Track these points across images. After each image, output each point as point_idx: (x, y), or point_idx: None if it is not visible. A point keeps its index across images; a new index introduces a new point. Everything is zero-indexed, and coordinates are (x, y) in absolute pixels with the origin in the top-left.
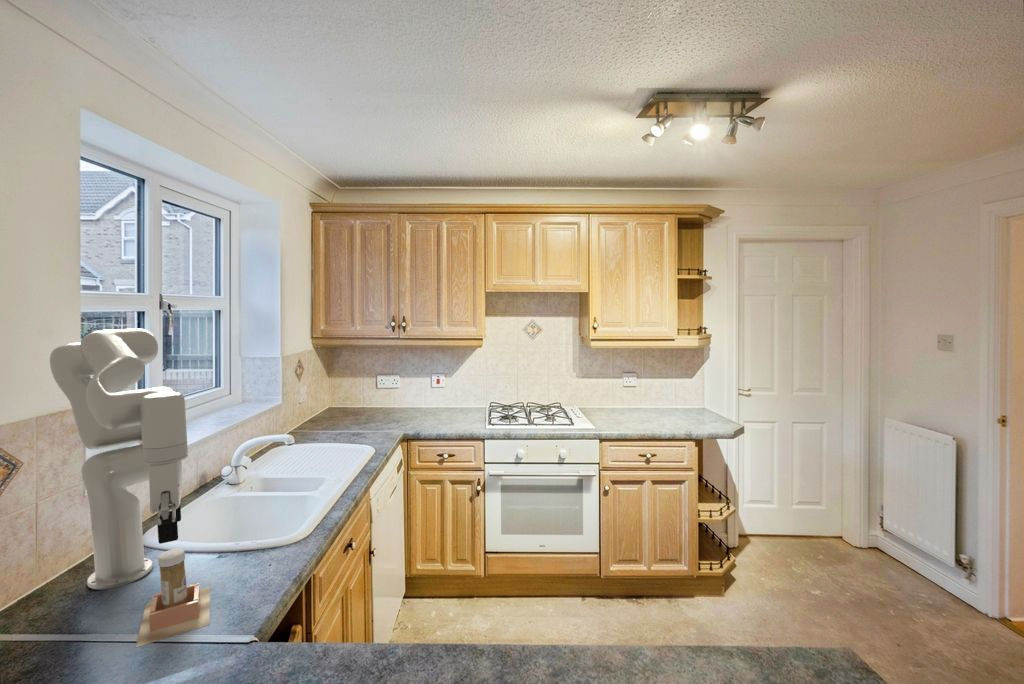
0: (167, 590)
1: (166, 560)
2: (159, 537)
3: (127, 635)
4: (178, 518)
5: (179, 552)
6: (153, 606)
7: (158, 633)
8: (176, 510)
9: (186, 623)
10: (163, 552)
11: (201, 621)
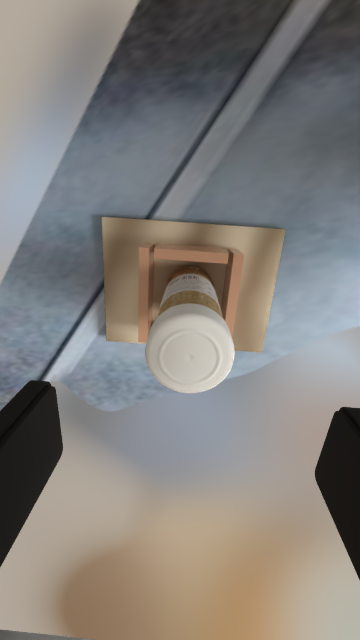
0: (163, 297)
1: (148, 338)
2: (11, 407)
3: (187, 195)
4: (323, 485)
5: (173, 381)
6: (177, 255)
7: (130, 257)
8: (357, 546)
9: (136, 305)
10: (219, 332)
11: (126, 329)
